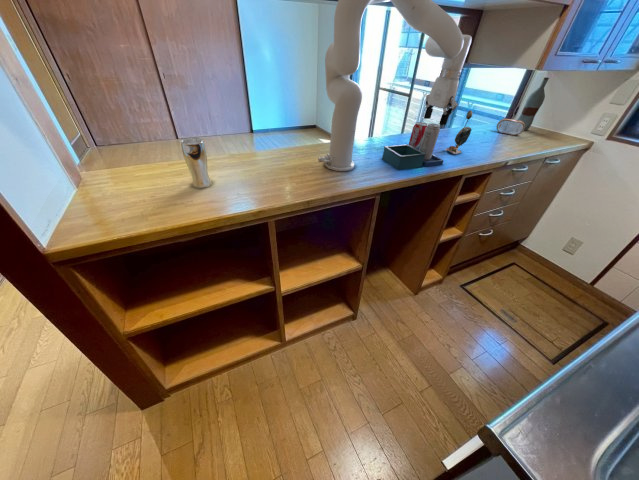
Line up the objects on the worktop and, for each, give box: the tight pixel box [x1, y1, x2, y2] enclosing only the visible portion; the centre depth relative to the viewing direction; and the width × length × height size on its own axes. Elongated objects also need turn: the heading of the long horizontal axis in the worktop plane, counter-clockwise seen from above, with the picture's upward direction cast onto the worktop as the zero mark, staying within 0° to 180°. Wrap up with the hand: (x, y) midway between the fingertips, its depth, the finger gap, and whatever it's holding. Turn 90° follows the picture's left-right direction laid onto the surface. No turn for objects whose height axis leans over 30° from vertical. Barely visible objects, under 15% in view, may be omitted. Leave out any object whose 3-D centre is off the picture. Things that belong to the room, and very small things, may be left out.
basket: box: [381, 143, 426, 171], centre depth 117 cm, size 13×13×6 cm
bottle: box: [516, 76, 550, 132], centre depth 169 cm, size 9×9×30 cm
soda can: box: [408, 121, 429, 150], centre depth 132 cm, size 7×7×12 cm
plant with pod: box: [445, 110, 474, 155], centre depth 128 cm, size 8×11×20 cm
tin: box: [496, 118, 525, 136], centre depth 164 cm, size 15×3×8 cm, turn 58°
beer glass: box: [180, 137, 212, 189], centre depth 88 cm, size 7×7×15 cm
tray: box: [422, 154, 445, 168], centre depth 122 cm, size 10×14×2 cm
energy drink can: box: [419, 123, 441, 161], centre depth 118 cm, size 6×6×15 cm
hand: (434, 121), depth 112 cm, fingers open, 9 cm apart
